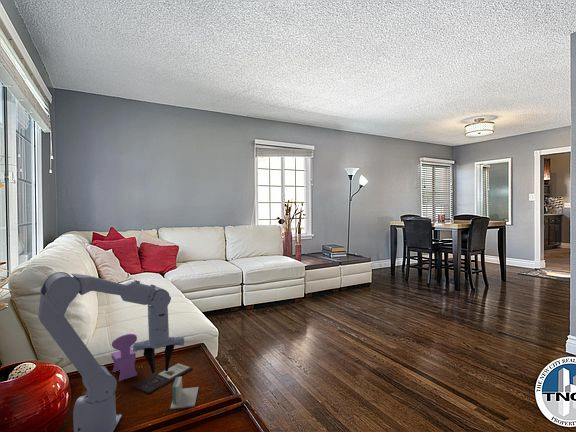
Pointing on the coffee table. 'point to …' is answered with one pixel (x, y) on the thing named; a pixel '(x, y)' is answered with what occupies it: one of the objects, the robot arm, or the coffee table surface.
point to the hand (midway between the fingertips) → (160, 370)
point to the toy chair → (124, 356)
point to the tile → (177, 390)
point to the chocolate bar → (161, 378)
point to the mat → (186, 398)
